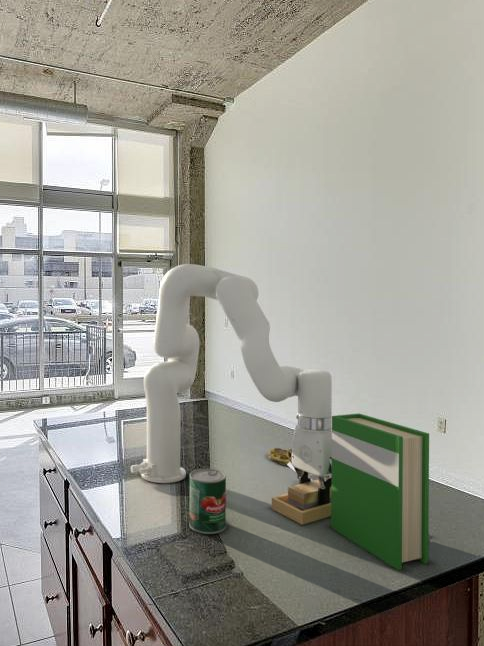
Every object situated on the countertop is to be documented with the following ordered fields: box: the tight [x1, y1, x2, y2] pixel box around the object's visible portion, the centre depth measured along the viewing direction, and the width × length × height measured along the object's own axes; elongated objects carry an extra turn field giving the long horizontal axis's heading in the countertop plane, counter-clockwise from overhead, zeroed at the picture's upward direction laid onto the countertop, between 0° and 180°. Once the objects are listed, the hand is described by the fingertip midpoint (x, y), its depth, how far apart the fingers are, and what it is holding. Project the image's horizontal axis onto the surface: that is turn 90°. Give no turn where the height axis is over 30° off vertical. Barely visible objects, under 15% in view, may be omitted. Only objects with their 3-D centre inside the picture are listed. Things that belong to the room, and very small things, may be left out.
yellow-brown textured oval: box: [267, 447, 292, 467], centre depth 149 cm, size 9×5×15 cm
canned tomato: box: [188, 468, 227, 535], centre depth 104 cm, size 8×8×11 cm
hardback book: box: [330, 412, 430, 570], centre depth 97 cm, size 18×7×24 cm, turn 21°
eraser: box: [287, 478, 331, 510], centre depth 113 cm, size 12×5×4 cm, turn 120°
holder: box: [271, 493, 331, 525], centre depth 113 cm, size 18×10×3 cm, turn 120°
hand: (314, 499), depth 113 cm, fingers closed on eraser, 5 cm apart
